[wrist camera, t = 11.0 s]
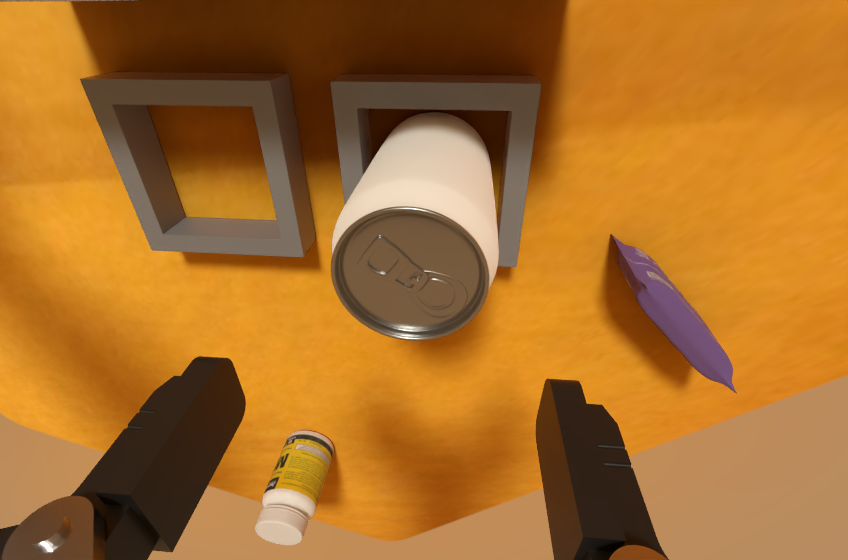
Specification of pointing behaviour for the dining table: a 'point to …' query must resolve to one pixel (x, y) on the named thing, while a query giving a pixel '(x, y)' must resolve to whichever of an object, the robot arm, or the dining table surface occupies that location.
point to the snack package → (674, 315)
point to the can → (419, 232)
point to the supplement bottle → (295, 488)
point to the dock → (294, 147)
